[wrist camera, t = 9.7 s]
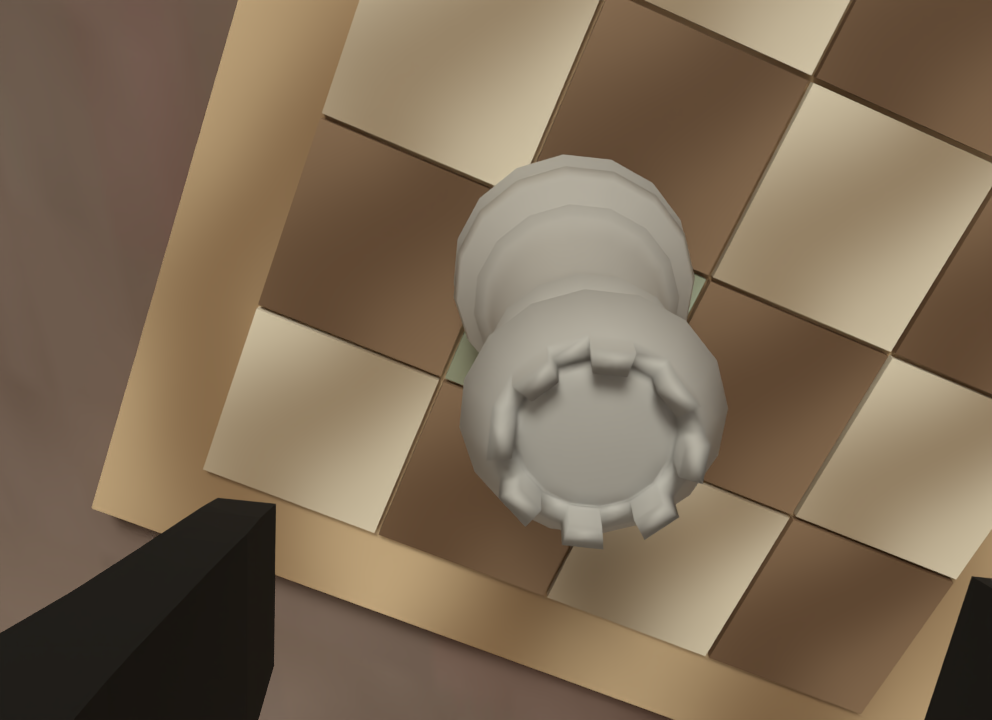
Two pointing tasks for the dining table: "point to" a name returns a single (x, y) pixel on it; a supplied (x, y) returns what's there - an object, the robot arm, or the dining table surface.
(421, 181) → the chessboard
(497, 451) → the rook chess piece
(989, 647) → the robot arm
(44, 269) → the dining table surface
